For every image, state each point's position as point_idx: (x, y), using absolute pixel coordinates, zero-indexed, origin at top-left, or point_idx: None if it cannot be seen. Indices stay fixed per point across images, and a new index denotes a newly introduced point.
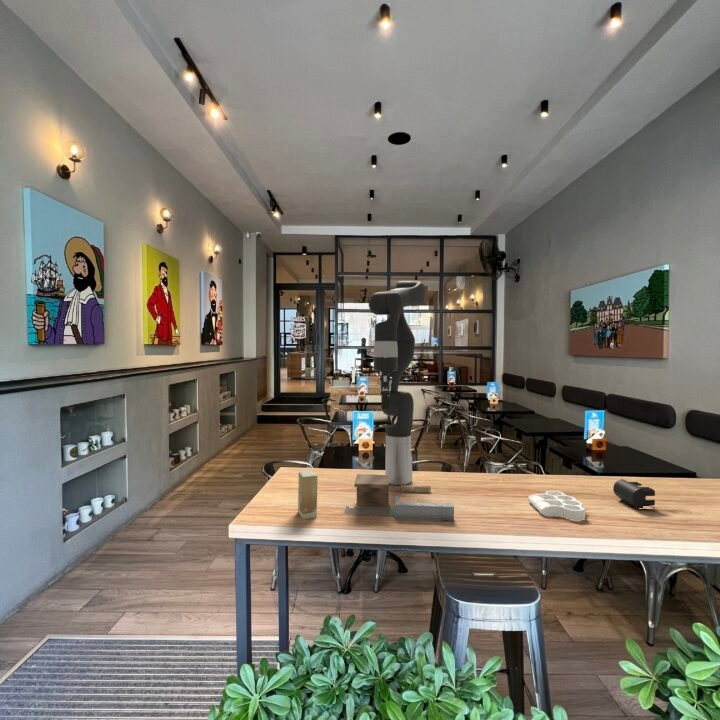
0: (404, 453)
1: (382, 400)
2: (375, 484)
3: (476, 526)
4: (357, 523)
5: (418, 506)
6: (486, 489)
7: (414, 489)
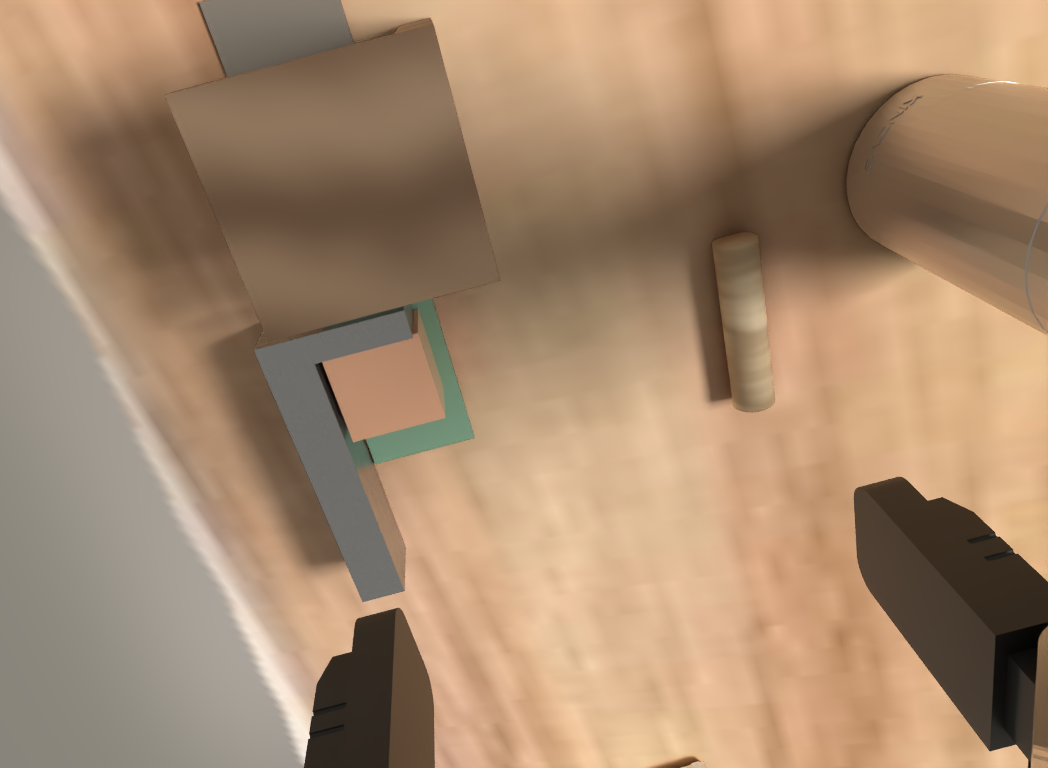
0: (989, 294)
1: (347, 756)
2: (233, 255)
3: (349, 635)
4: (99, 143)
5: (301, 458)
6: (848, 613)
7: (724, 324)
